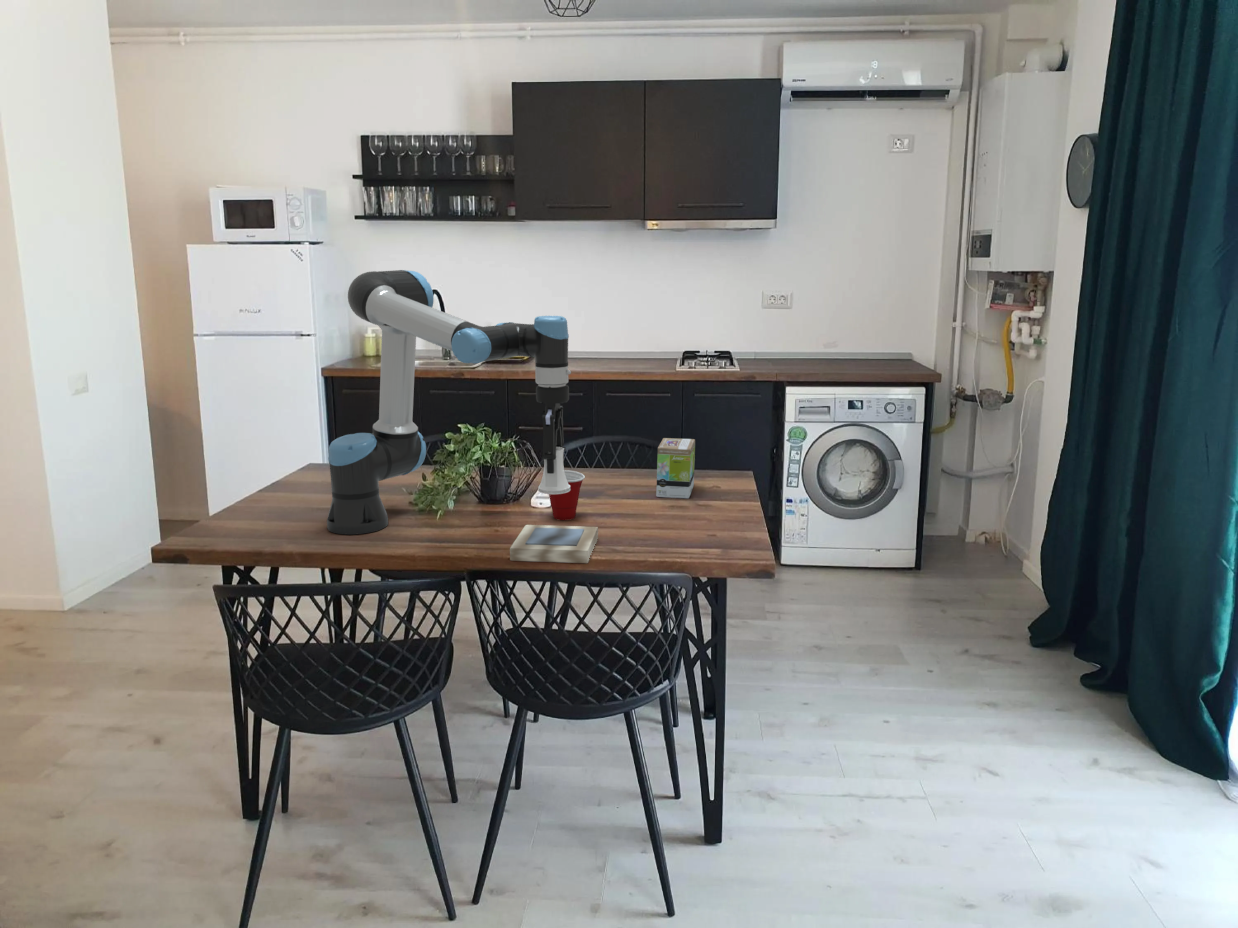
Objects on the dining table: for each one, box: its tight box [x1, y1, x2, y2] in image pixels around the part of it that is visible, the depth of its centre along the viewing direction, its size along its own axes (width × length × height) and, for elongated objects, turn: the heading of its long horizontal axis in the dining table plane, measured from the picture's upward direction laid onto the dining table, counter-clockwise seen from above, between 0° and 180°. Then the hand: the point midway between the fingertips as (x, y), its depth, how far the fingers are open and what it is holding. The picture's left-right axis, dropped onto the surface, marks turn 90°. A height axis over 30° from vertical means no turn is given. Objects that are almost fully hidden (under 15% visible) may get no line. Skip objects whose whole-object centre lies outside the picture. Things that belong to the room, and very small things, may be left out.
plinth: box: [509, 524, 599, 564], centre depth 216 cm, size 18×18×3 cm
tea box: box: [655, 437, 696, 499], centre depth 265 cm, size 15×10×15 cm, turn 171°
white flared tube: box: [537, 446, 570, 495], centre depth 212 cm, size 8×8×10 cm
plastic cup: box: [548, 469, 585, 521], centre depth 240 cm, size 11×11×12 cm
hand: (554, 482), depth 212 cm, fingers closed on white flared tube, 7 cm apart
